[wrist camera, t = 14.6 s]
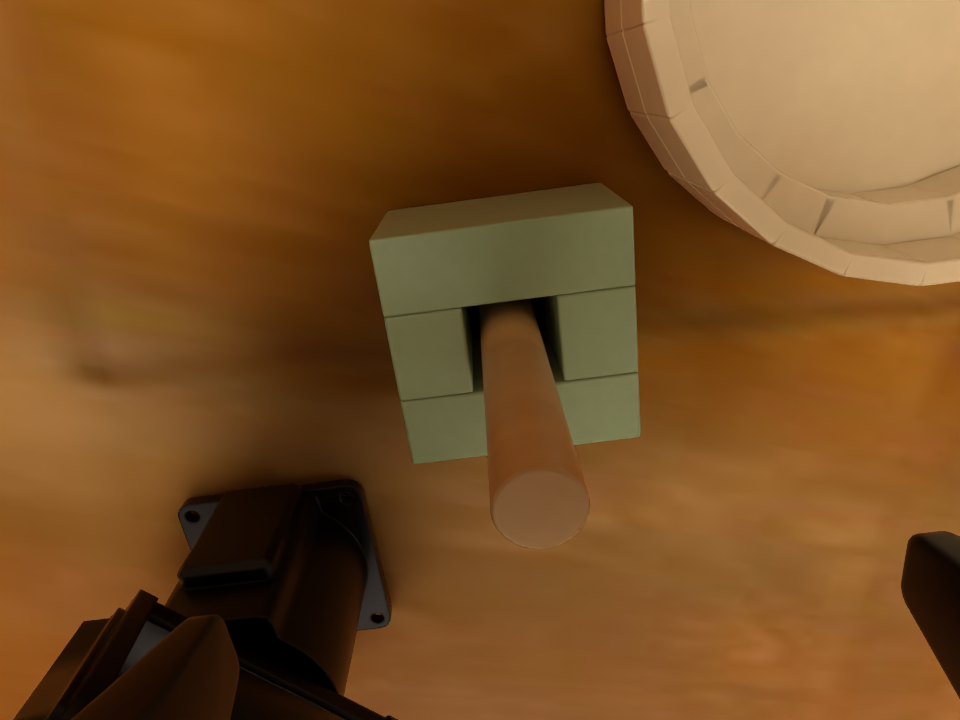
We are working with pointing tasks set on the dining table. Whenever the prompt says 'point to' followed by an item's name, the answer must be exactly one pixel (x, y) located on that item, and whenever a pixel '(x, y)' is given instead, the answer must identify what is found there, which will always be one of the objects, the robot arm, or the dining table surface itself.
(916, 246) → the bowl
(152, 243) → the dining table surface
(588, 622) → the dining table surface
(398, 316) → the stand
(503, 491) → the stick
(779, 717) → the dining table surface
